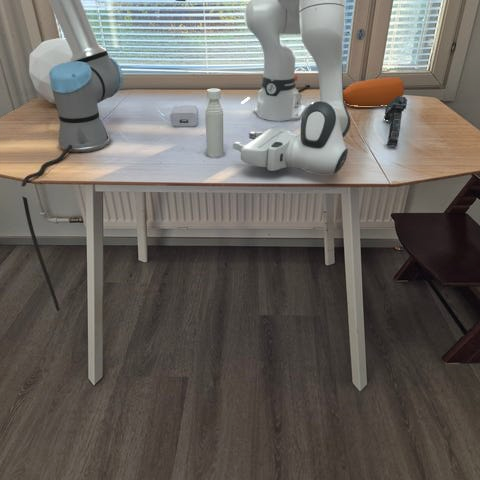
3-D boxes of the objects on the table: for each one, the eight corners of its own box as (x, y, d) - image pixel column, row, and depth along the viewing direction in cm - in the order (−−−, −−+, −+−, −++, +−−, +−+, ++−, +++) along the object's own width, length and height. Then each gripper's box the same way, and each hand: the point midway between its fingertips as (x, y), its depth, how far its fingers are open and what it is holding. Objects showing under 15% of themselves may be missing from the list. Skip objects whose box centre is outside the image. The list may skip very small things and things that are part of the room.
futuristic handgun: (389, 146, 153) (397, 104, 149) (399, 145, 125) (409, 94, 122) (379, 144, 154) (386, 103, 150) (386, 144, 126) (395, 93, 122)
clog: (345, 115, 162) (406, 107, 163) (347, 87, 156) (410, 79, 157) (336, 106, 172) (394, 98, 173) (337, 80, 166) (397, 72, 167)
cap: (207, 99, 112) (207, 92, 111) (206, 95, 116) (206, 88, 114) (221, 99, 113) (221, 91, 112) (220, 95, 116) (219, 88, 115)
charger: (199, 113, 156) (197, 126, 144) (175, 113, 156) (171, 126, 143) (198, 100, 153) (196, 113, 141) (174, 100, 153) (170, 113, 141)
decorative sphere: (40, 71, 170) (16, 23, 147) (101, 69, 175) (88, 22, 151) (40, 120, 164) (15, 77, 140) (104, 116, 168) (91, 75, 144)
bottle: (207, 157, 122) (205, 94, 111) (206, 151, 126) (204, 89, 115) (224, 157, 122) (223, 93, 112) (222, 150, 126) (221, 88, 116)
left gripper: (204, -97, 108) (207, -5, 120) (144, -109, 90) (155, 1, 102) (228, -99, 106) (229, -4, 118) (172, -111, 87) (179, 3, 99)
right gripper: (301, 127, 117) (259, 118, 122) (271, 150, 102) (224, 140, 108) (299, 147, 121) (258, 138, 126) (269, 173, 106) (224, 162, 111)
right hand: (242, 139), depth 117 cm, fingers open, 8 cm apart
